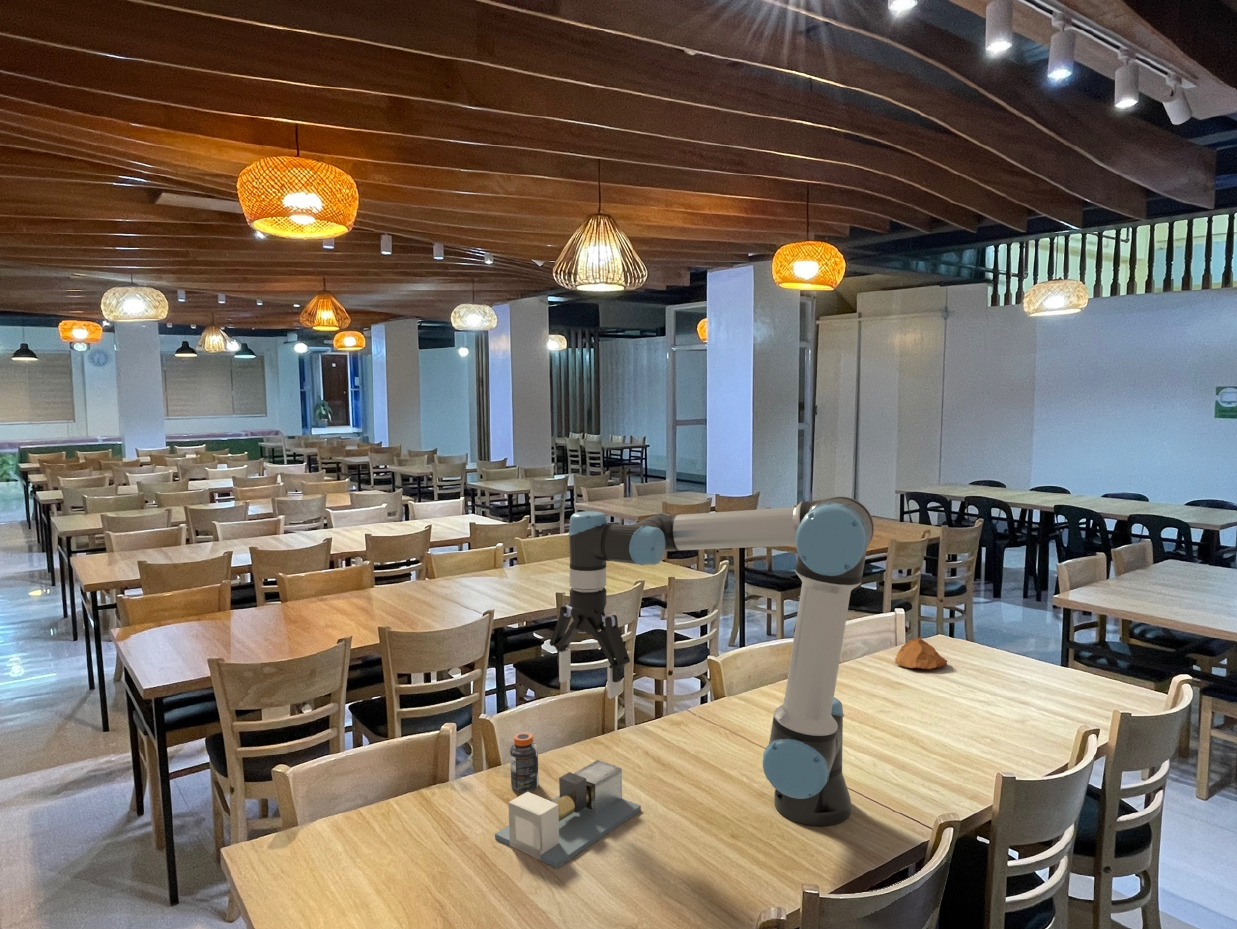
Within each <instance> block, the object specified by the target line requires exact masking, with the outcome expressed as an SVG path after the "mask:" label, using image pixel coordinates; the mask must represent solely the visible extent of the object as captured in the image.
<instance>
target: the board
mask: <svg viewBox="0 0 1237 929" xmlns="http://www.w3.org/2000/svg"><path fill="white" fill-rule="evenodd" d="M559 798H560V795H558V796H556V797H554V798H553V799H552V800H550V801H551V802H554V801H556V800H558V799H559ZM641 807H642V805H640V804H638V803H635V802H633V801H629V800H627V799H625V798H622V799H621V800H619V801H618V802H616V803H614V804H613V805H611V806H610V807H608V808H607V809H605V810H604V811H602V812H601V813H599V814H598V815H596V816H595V815H593V814H590V813H588V812H585V811H583V810H581V811H579V812H577V813H575V812H574V813H572V814H571V815H569V816H567V817H566V818H564V819H563V820H561V821H559V843H558V844H557V845H555V846H554V847H552V848H551V849H549V850H548V851H546V852H545V853H543V854H542V855H540V857H541V861H540V862H542V863H545V864H547V865H549V866H551V867H553V868H556V869H559V867H561V866H563V865H564V864H566V862H568V861H570V860H571V859H572V858H574V857H575V856H577V855H578V854H580V853H582V851H584V850H586V849H587V848H588V847H590V846H591V845H593V844H594V843H596V842H598V841H599V840H601V838H603V837H604V836H606V835H607V834H608V833H610V832H612V831H613V830H615V829H616V828H617V827H619V826H620V825H622V824H623V823H625V822H626V821H628V820H629V819H631V818H632V817H634V816H635V815H636V814H638V813H639V812H641V811H642V808H641ZM494 839H495V840H497V841H500V842H501V843H503V844H505V845H507V846H509V847H511V846H510V837H509V825H507V826H506V827H504V828H502V829H501V830H499V831H496V832H495V833H494ZM512 845H514V844H512ZM516 845H517V844H516ZM532 853H533V852H532ZM537 856H538V855H536V857H537Z"/></svg>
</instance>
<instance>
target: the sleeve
mask: <svg viewBox="0 0 1237 929" xmlns="http://www.w3.org/2000/svg"><path fill="white" fill-rule="evenodd" d="M622 770H623V769H622V767H619V766H616V765H615V764H611V763H608V762H606V761H603V760H599V759H596V760H595V761H593V762H591V763H589V764H587V765H586V766H584V767H582V768H581V769H579V770H577V771H575V772H574V773H573V774H576V775H578V776H581V777H584V778H586V785H587V786H590V787H591V799H592V801H591V802H590V803H588V804H587V807H585V808H584V809H582V810H583V811H585V812H588V813H590V814H593V815H595V816H596V815H598V814H599V813H601V812H602V811H604V810H605V809H607V808H608V807H610V806H611V805H613V804H614V803H616V802H618V801H619V800H621V799H623V771H622Z"/></svg>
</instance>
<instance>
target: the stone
mask: <svg viewBox="0 0 1237 929" xmlns="http://www.w3.org/2000/svg"><path fill="white" fill-rule="evenodd" d="M894 659H895V662H894V663H895V664H896V665H897V664H898V666H900V667H904V668H907V669H921V670H932V669H937V668H940V667H943V666H946V665H948V659H945V658H944V657H942V656H941V655H940V654H939V652H938V651H937V650H936V649H935V647H934V645H931V644H929V643H928V642H927V641H925V640H924V639H923V638H922V637H917V638H915V639H913V638H911V639H909V640H908V641H907V642H906V643H905V644H904V645H902V646H901V647H900V648H899V650H898V652H897V654H896V657H895V658H894Z"/></svg>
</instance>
